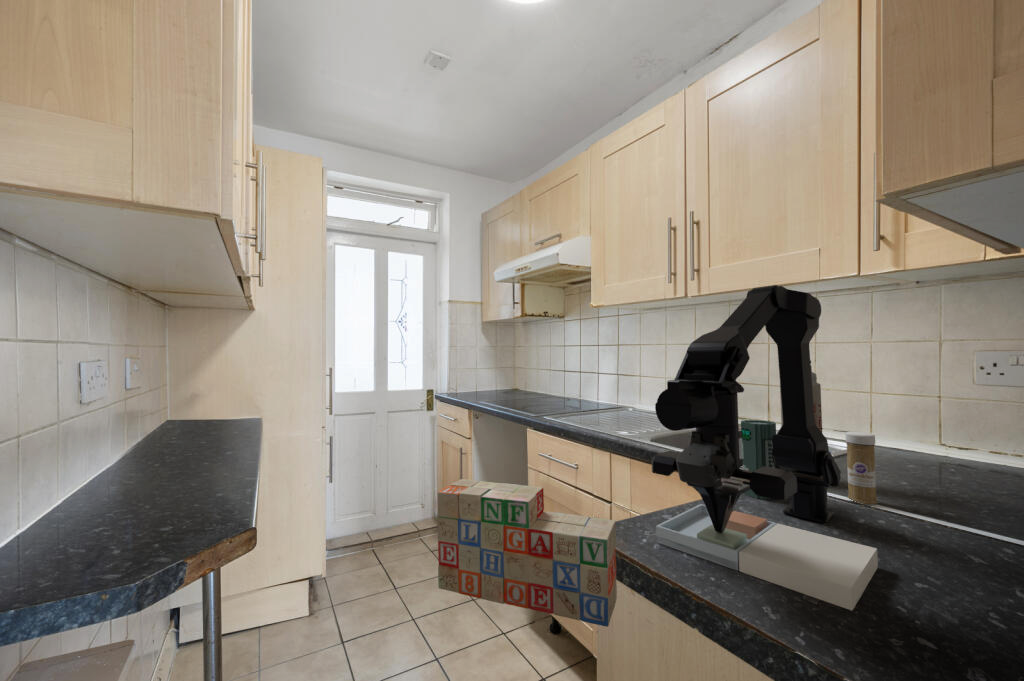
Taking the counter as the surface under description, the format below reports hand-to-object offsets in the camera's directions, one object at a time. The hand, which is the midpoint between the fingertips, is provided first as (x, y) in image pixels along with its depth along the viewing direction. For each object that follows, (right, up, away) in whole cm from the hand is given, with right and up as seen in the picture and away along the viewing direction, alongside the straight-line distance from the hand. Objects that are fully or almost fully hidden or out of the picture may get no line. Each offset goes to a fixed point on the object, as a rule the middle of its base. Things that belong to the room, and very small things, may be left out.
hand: (719, 531), depth 63 cm
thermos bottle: (+38, -5, +37) cm, 53 cm away
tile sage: (0, -2, -1) cm, 2 cm away
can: (+21, -4, +26) cm, 34 cm away
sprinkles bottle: (+39, -4, +22) cm, 45 cm away
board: (+10, -3, -5) cm, 11 cm away
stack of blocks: (-29, -3, -10) cm, 31 cm away
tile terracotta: (+6, -2, +5) cm, 9 cm away
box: (+2, -3, +4) cm, 6 cm away
